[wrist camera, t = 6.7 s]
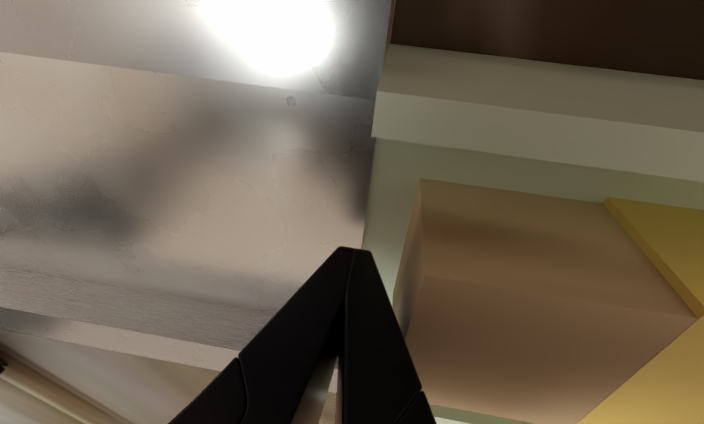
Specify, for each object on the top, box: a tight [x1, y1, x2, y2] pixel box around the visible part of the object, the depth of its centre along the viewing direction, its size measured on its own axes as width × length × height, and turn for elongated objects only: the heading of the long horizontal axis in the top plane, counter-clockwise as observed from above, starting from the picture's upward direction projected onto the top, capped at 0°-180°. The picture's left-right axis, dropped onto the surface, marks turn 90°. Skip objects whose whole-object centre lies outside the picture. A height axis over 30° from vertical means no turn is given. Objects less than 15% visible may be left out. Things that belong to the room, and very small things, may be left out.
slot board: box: [0, 0, 396, 393], centre depth 9 cm, size 11×14×2 cm
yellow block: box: [576, 197, 704, 424], centre depth 7 cm, size 4×4×3 cm
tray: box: [361, 44, 704, 424], centre depth 8 cm, size 9×13×3 cm
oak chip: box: [392, 178, 698, 424], centre depth 7 cm, size 4×4×3 cm
